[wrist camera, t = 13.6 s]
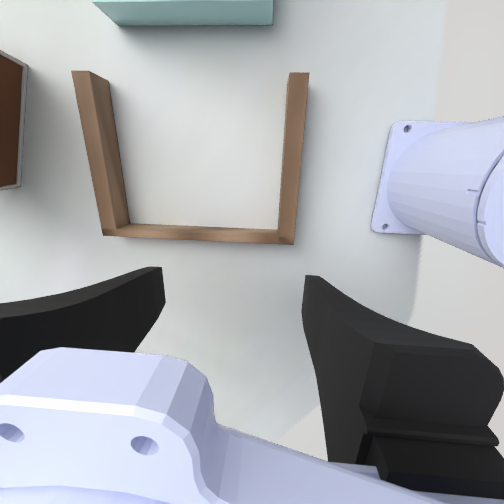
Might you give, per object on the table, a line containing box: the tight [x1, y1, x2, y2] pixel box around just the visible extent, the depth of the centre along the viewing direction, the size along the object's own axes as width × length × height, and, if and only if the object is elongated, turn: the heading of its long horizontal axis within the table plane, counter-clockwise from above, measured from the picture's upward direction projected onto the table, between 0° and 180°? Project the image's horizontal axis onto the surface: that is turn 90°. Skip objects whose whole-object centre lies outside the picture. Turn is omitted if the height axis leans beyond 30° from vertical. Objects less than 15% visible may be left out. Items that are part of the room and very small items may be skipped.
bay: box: [71, 71, 309, 245], centre depth 18 cm, size 15×11×2 cm
